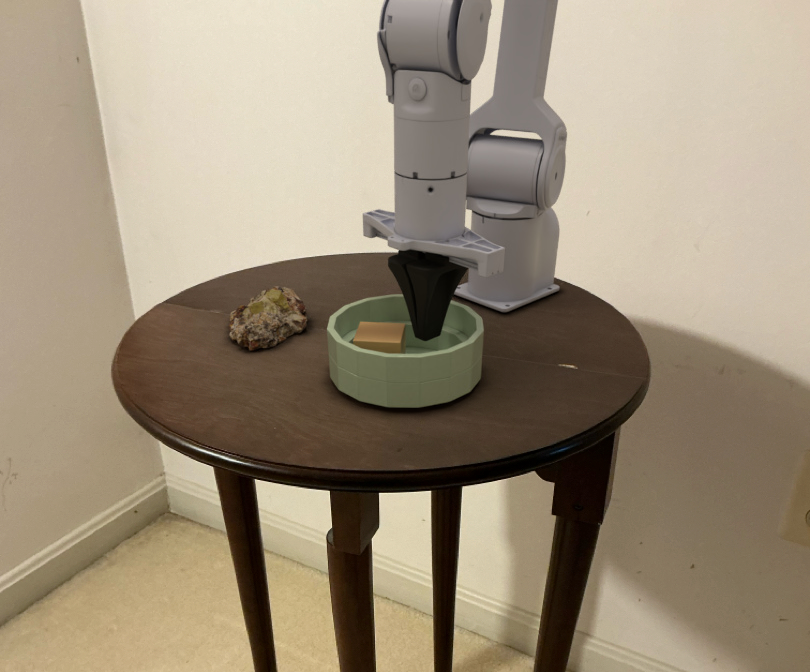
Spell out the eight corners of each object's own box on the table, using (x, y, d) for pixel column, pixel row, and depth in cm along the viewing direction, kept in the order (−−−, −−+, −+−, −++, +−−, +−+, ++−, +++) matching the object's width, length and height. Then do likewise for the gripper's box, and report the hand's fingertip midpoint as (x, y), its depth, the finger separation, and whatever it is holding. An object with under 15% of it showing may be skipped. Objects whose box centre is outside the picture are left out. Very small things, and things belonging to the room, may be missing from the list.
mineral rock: (239, 284, 80) (309, 268, 77) (255, 322, 82) (323, 309, 80) (198, 328, 72) (274, 313, 69) (217, 370, 74) (291, 356, 72)
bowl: (407, 333, 76) (407, 283, 73) (510, 377, 68) (515, 323, 65) (301, 375, 69) (296, 321, 66) (402, 429, 61) (402, 372, 58)
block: (361, 363, 69) (360, 321, 67) (405, 365, 69) (405, 323, 67) (354, 384, 66) (352, 340, 64) (400, 386, 66) (400, 342, 64)
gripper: (331, 163, 62) (340, 324, 70) (463, 199, 54) (455, 377, 62) (395, 149, 66) (397, 304, 74) (528, 181, 57) (512, 351, 66)
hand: (427, 336), depth 68 cm, fingers closed
